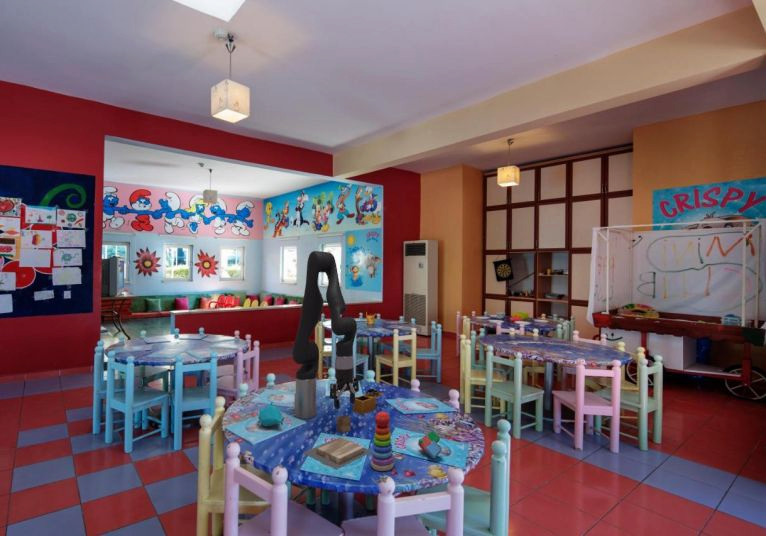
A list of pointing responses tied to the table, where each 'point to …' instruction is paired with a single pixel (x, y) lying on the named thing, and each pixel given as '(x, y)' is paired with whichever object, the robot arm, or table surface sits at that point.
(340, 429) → the block
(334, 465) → the mat
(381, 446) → the stacking toy
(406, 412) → the table surface
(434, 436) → the building blocks
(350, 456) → the tile
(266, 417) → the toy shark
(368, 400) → the spider toy trap
